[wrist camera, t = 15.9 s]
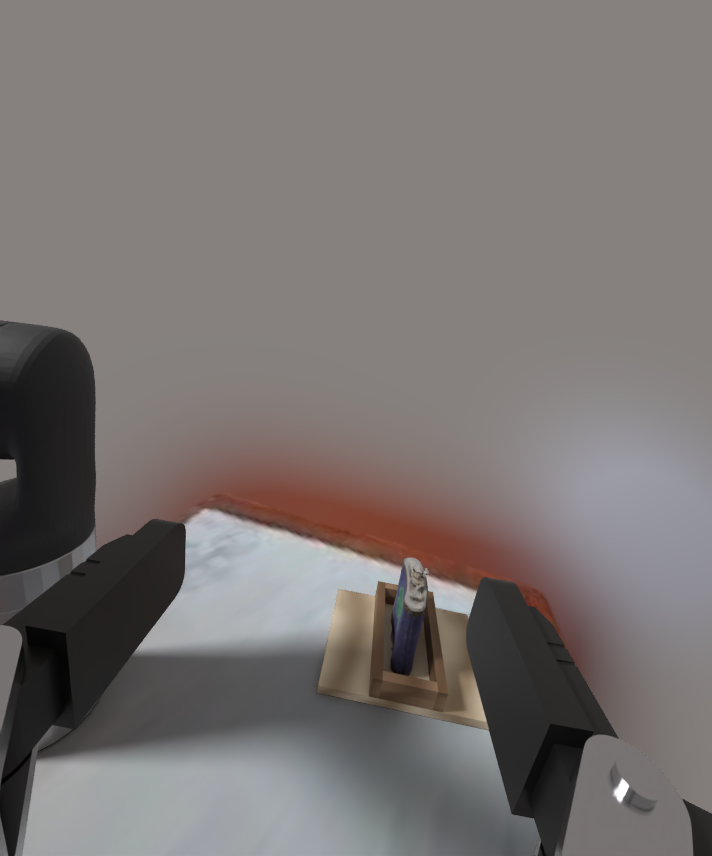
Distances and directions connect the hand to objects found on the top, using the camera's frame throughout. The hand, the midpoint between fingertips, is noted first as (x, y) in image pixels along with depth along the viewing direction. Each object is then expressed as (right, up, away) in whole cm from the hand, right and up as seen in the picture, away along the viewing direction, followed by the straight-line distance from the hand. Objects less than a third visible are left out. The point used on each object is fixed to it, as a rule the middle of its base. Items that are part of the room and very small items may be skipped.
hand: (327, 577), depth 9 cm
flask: (+6, -22, +33) cm, 40 cm away
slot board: (+6, -23, +33) cm, 41 cm away
